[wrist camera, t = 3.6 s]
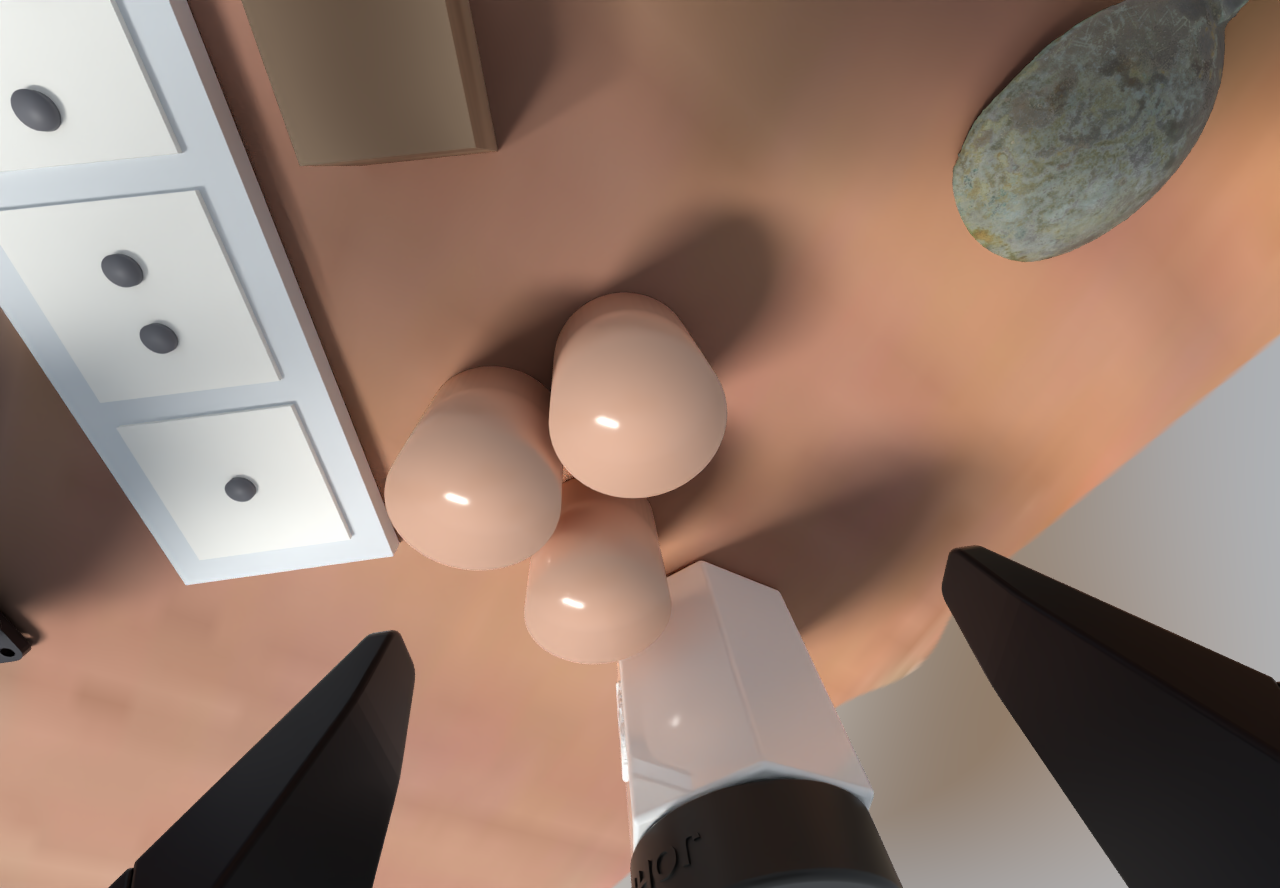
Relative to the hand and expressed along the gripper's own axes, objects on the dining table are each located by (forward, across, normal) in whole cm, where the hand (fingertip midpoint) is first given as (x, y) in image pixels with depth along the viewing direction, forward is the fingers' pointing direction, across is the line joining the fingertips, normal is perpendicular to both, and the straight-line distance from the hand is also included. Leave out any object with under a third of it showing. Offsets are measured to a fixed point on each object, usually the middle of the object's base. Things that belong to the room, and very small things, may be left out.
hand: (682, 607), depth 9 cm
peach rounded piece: (+12, +2, +7) cm, 14 cm away
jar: (+12, -2, +14) cm, 19 cm away
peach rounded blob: (+12, 0, 0) cm, 12 cm away
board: (+12, +14, -4) cm, 19 cm away
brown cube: (+12, +5, -9) cm, 16 cm away
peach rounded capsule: (+12, +5, +2) cm, 13 cm away
